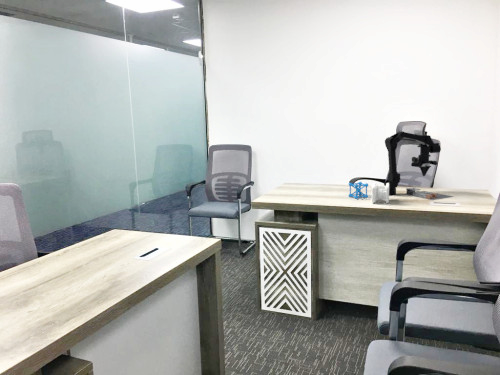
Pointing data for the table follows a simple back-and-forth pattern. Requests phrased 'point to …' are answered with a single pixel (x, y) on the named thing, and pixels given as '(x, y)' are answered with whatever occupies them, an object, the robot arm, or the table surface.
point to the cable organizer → (380, 192)
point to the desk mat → (439, 196)
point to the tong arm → (429, 193)
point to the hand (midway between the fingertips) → (423, 176)
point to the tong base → (417, 193)
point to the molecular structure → (358, 190)
